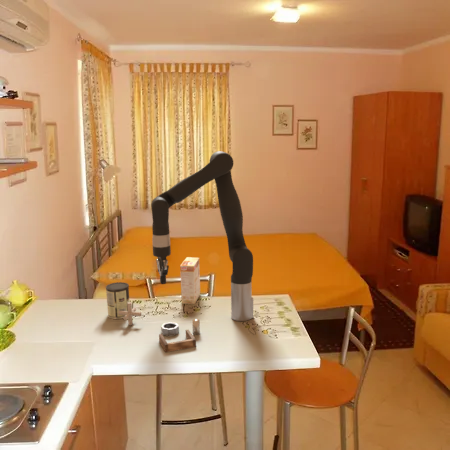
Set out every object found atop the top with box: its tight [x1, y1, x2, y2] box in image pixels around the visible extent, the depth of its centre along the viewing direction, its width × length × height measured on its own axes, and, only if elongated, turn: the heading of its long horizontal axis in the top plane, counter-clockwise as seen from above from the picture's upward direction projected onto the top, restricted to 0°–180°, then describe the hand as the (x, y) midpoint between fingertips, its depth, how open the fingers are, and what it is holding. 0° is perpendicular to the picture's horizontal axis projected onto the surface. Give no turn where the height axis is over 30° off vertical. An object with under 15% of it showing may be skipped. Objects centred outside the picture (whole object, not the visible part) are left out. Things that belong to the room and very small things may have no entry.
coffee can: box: [105, 281, 130, 320], centre depth 220 cm, size 10×10×14 cm
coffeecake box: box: [179, 256, 201, 305], centre depth 239 cm, size 15×7×20 cm, turn 172°
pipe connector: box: [118, 301, 142, 326], centre depth 209 cm, size 10×10×10 cm
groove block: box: [158, 329, 197, 353], centre depth 191 cm, size 12×10×3 cm
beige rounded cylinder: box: [191, 318, 201, 336], centre depth 200 cm, size 3×3×6 cm
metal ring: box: [160, 321, 180, 337], centre depth 201 cm, size 7×7×3 cm
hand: (163, 283), depth 206 cm, fingers closed
